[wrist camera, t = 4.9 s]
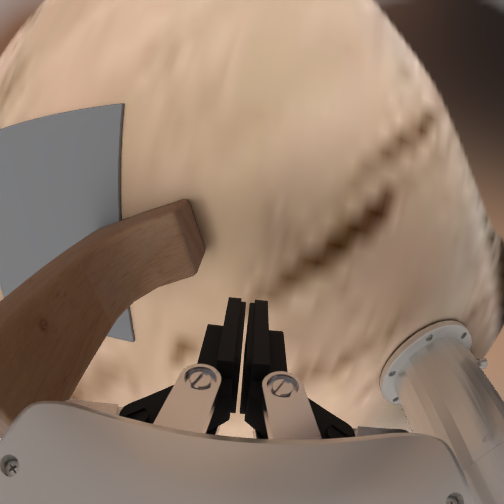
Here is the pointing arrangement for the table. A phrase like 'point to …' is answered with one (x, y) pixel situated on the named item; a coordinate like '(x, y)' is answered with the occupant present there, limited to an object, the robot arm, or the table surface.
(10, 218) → the mat
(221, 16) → the table surface
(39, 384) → the wooden block
